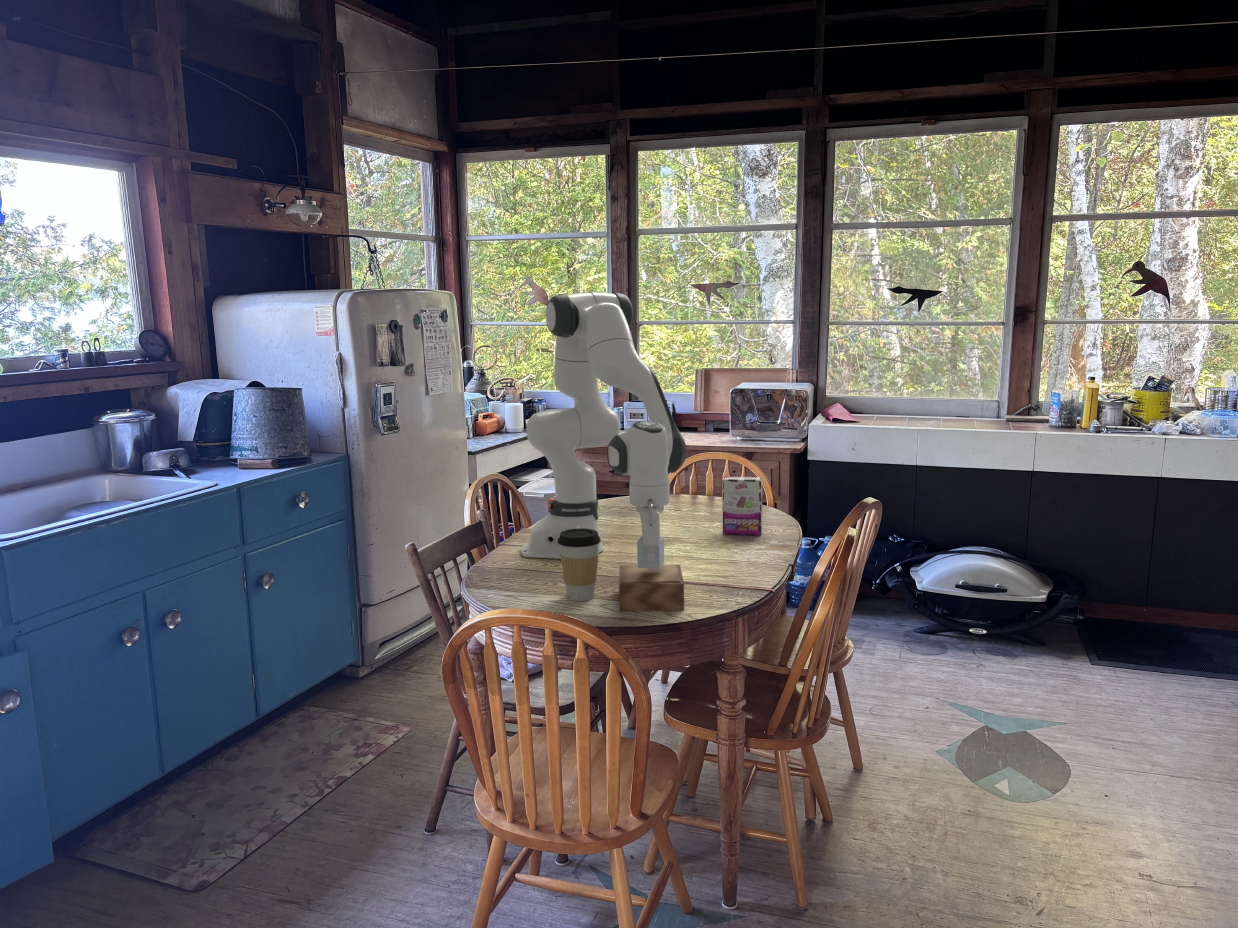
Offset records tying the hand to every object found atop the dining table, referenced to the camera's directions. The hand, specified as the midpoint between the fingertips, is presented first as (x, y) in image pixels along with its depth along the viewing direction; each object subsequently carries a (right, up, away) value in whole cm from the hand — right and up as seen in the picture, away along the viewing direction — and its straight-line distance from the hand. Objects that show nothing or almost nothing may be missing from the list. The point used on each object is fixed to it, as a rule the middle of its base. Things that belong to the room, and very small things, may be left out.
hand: (650, 556), depth 192 cm
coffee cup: (-16, -10, +5) cm, 19 cm away
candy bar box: (+29, 0, +58) cm, 64 cm away
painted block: (0, -2, 0) cm, 2 cm away
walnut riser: (0, -10, +2) cm, 10 cm away
